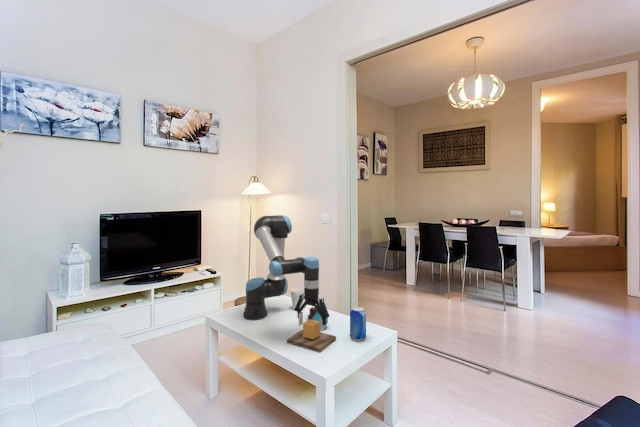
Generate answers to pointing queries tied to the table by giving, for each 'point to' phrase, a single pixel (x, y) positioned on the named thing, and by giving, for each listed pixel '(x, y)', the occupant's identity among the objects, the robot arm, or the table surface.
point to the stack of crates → (312, 313)
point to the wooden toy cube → (311, 329)
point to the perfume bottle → (319, 318)
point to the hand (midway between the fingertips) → (311, 327)
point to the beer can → (358, 324)
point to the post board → (312, 341)
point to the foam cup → (296, 296)
